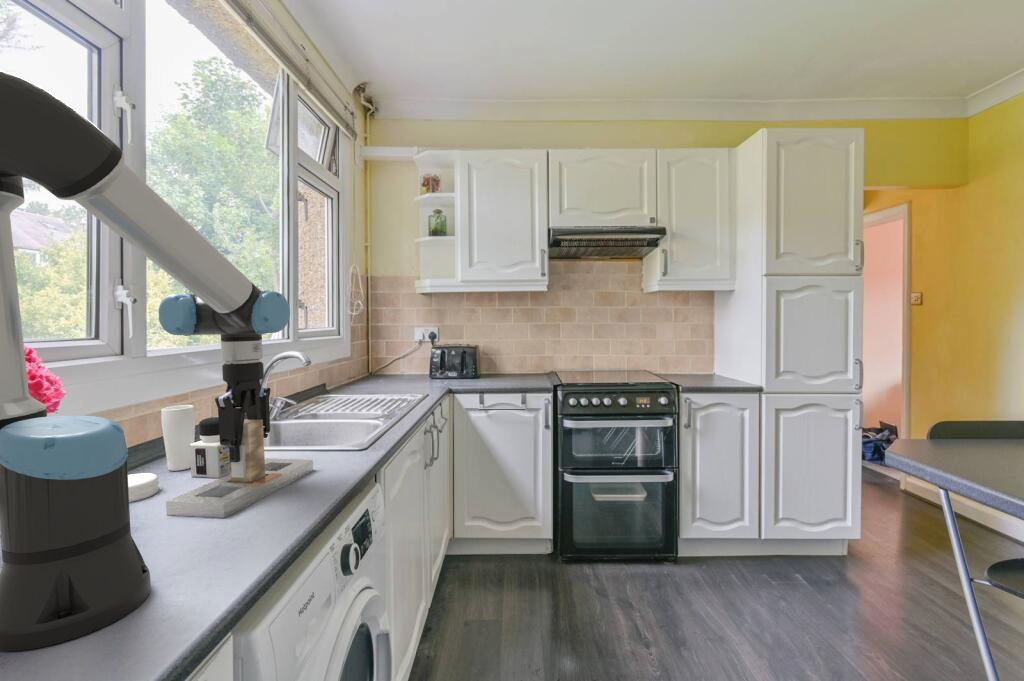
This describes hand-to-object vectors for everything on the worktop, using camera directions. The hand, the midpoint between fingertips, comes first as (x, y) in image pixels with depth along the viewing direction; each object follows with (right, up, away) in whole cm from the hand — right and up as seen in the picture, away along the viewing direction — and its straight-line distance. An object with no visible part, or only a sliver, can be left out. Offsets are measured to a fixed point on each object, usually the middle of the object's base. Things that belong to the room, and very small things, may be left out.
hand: (248, 472), depth 103 cm
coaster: (-24, -5, -2) cm, 24 cm away
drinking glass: (-25, -4, +17) cm, 31 cm away
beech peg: (0, -1, 0) cm, 1 cm away
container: (-14, -4, +13) cm, 19 cm away
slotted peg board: (0, -4, 0) cm, 4 cm away
